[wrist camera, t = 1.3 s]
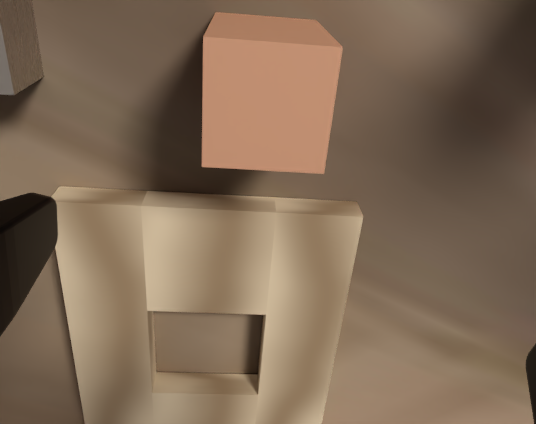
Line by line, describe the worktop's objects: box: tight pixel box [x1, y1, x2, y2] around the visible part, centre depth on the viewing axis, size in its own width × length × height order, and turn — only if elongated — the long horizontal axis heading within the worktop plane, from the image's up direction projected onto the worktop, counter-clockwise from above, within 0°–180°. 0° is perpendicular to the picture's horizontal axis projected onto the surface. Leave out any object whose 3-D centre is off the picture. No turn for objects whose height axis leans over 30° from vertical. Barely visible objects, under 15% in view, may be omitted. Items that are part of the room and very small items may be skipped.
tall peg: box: [202, 12, 343, 174], centre depth 17 cm, size 4×4×6 cm
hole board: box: [52, 186, 363, 424], centre depth 26 cm, size 14×18×2 cm
